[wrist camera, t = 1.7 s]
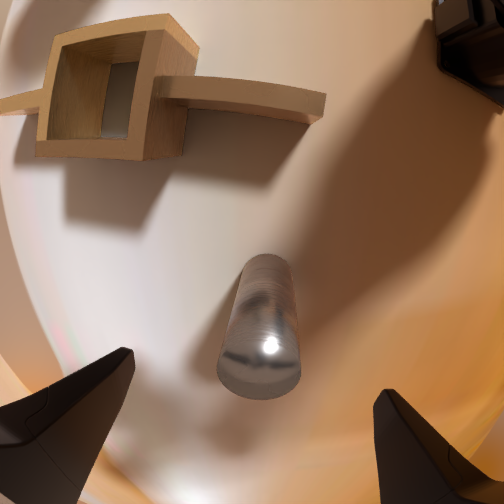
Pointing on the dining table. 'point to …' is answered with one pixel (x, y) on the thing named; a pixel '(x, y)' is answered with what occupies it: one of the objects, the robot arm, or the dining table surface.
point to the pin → (262, 333)
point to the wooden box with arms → (141, 92)
